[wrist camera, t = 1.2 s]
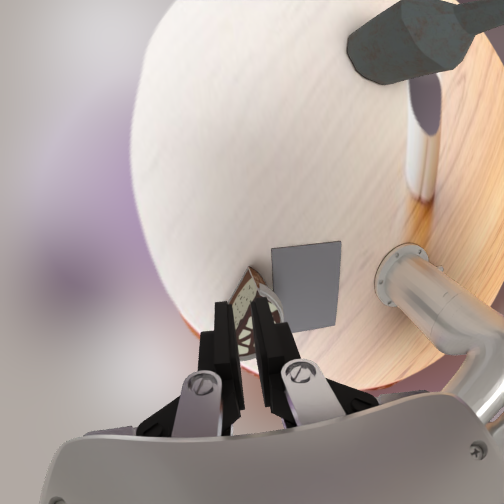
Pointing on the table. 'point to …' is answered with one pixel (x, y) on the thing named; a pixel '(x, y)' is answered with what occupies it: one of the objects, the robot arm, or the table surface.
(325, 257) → the mat
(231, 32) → the table surface
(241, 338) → the food container
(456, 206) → the table surface
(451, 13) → the bottle
